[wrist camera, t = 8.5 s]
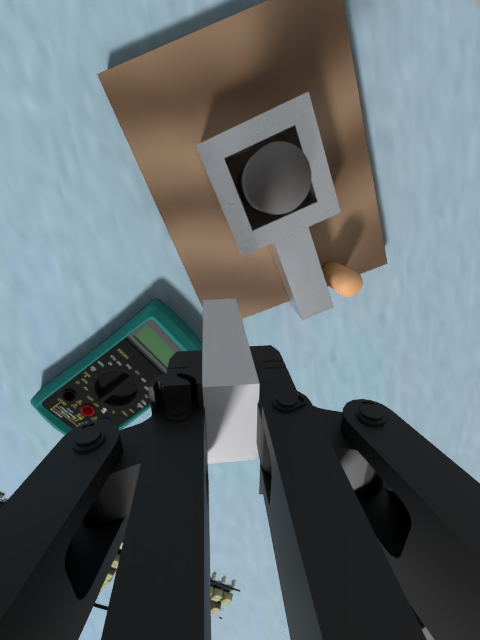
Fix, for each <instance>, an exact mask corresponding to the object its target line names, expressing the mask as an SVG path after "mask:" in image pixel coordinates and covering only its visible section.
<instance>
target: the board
mask: <svg viewBox="0 0 480 640" xmlns="http://www.w3.org/2000/svg"><path fill="white" fill-rule="evenodd" d="M97 75H98V77H99V79H100V81H101V84H102V86H103V88H104V90H105V93H106V95H107V97H108V99H109V101H110V104H111V106H112V108H113V110H114V112H115V115H116V117H117V119H118V121H119V124H120V126H121V128H122V130H123V132H124V135H125V137H126V139H127V141H128V143H129V146H130V148H131V150H132V152H133V154H134V157H135V159H136V161H137V163H138V166H139V168H140V170H141V172H142V174H143V177H144V179H145V181H146V183H147V185H148V188H149V190H150V192H151V194H152V197H153V199H154V201H155V203H156V205H157V208H158V210H159V212H160V214H161V216H162V219H163V221H164V223H165V225H166V227H167V230H168V232H169V234H170V236H171V239H172V241H173V243H174V245H175V247H176V250H177V252H178V254H179V256H180V258H181V261H182V263H183V265H184V267H185V270H186V272H187V274H188V276H189V278H190V281H191V283H192V285H193V287H194V289H195V292H196V294H197V296H198V298H199V300H200V303H201V305H202V307H203V300H216V299H236V301H237V304H238V308H239V311H240V315H241V319H243V318H245V317H248V316H251V315H253V314H256V313H259V312H261V311H264V310H266V309H269V308H272V307H274V306H277V305H280V304H282V303H285V302H288V301H290V300H289V297H288V295H287V292H286V289H285V287H284V284H283V281H282V279H281V276H280V273H279V271H278V268H277V265H276V263H275V260H274V257H273V255H272V252H271V249H270V247H269V245H267V246H264V247H262V248H260V249H258V250H255V251H253V252H251V253H249V254H246V255H244V256H242V255H241V253H240V251H239V249H238V247H237V245H236V242H235V240H234V237H233V235H232V233H231V230H230V228H229V226H228V223H227V221H226V218H225V216H224V214H223V211H222V209H221V206H220V204H219V202H218V199H217V197H216V195H215V192H214V190H213V187H212V185H211V183H210V180H209V178H208V175H207V173H206V171H205V168H204V166H203V164H202V161H201V159H200V156H199V154H198V151H197V148H196V145H197V144H199V143H201V142H204V141H206V140H208V139H210V138H212V137H214V136H216V135H218V134H220V133H222V132H225V131H227V130H229V129H231V128H233V127H235V126H237V125H239V124H241V123H243V122H246V121H248V120H250V119H252V118H254V117H256V116H258V115H260V114H262V113H264V112H267V111H269V110H271V109H273V108H275V107H277V106H279V105H281V104H283V103H285V102H288V101H290V100H292V99H294V98H296V97H298V96H300V95H302V94H304V93H306V92H309V95H310V99H311V102H312V106H313V110H314V114H315V117H316V121H317V125H318V129H319V132H320V136H321V140H322V144H323V147H324V151H325V155H326V159H327V162H328V166H329V170H330V174H331V178H332V181H333V185H334V189H335V193H336V196H337V200H338V204H339V208H340V211H341V213H339V214H336V215H334V216H332V217H330V218H327V219H325V220H323V221H321V222H318V223H316V224H314V225H312V226H309V230H310V233H311V237H312V240H313V243H314V246H315V249H316V253H317V256H318V259H319V262H320V265H321V268H322V267H323V265H324V264H326V263H327V262H330V261H335V262H338V263H339V264H341V265H343V266H345V267H347V268H349V269H351V270H353V271H355V272H357V273H358V274H361V273H364V272H366V271H369V270H372V269H374V268H377V267H380V266H382V265H385V264H387V258H386V252H385V247H384V241H383V235H382V229H381V223H380V217H379V211H378V205H377V199H376V193H375V187H374V182H373V176H372V170H371V164H370V158H369V152H368V146H367V140H366V134H365V128H364V122H363V117H362V111H361V105H360V99H359V93H358V87H357V81H356V75H355V69H354V63H353V57H352V52H351V46H350V40H349V34H348V28H347V22H346V16H345V10H344V4H343V0H267V1H264V2H262V3H260V4H258V5H255V6H253V7H251V8H248V9H246V10H244V11H241V12H239V13H237V14H235V15H232V16H230V17H228V18H225V19H223V20H221V21H218V22H216V23H214V24H212V25H209V26H207V27H205V28H202V29H200V30H198V31H195V32H193V33H191V34H189V35H186V36H184V37H182V38H179V39H177V40H175V41H172V42H170V43H168V44H166V45H163V46H161V47H159V48H156V49H154V50H152V51H149V52H147V53H145V54H143V55H140V56H138V57H136V58H133V59H131V60H129V61H126V62H124V63H122V64H120V65H117V66H115V67H113V68H110V69H108V70H106V71H103V72H101V73H99V74H97ZM226 164H227V167H228V170H229V172H230V175H231V177H232V180H233V182H234V185H235V188H236V190H237V193H238V195H239V198H240V200H241V203H242V205H243V208H244V211H245V213H246V216H247V218H248V221H249V223H250V225H251V224H254V223H256V222H258V221H260V220H263V219H265V218H267V217H269V216H271V215H274V214H285V213H288V212H290V211H292V210H294V209H295V208H297V207H298V206H299V205H300V204H301V203H302V202H303V201H304V199H305V198H306V196H307V194H308V192H309V189H310V185H311V167H310V164H309V161H308V159H307V157H306V156H305V154H304V153H303V152H302V150H300V149H299V148H298V147H297V146H295V145H293V144H291V143H288V142H285V139H284V136H283V135H281V136H279V137H277V138H275V139H273V140H271V141H269V142H266V143H264V144H262V145H260V146H258V147H256V148H254V149H252V150H249V151H247V152H245V153H243V154H241V155H239V156H237V157H234V158H232V159H230V160H228V161H226ZM327 286H329V285H327Z"/></svg>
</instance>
